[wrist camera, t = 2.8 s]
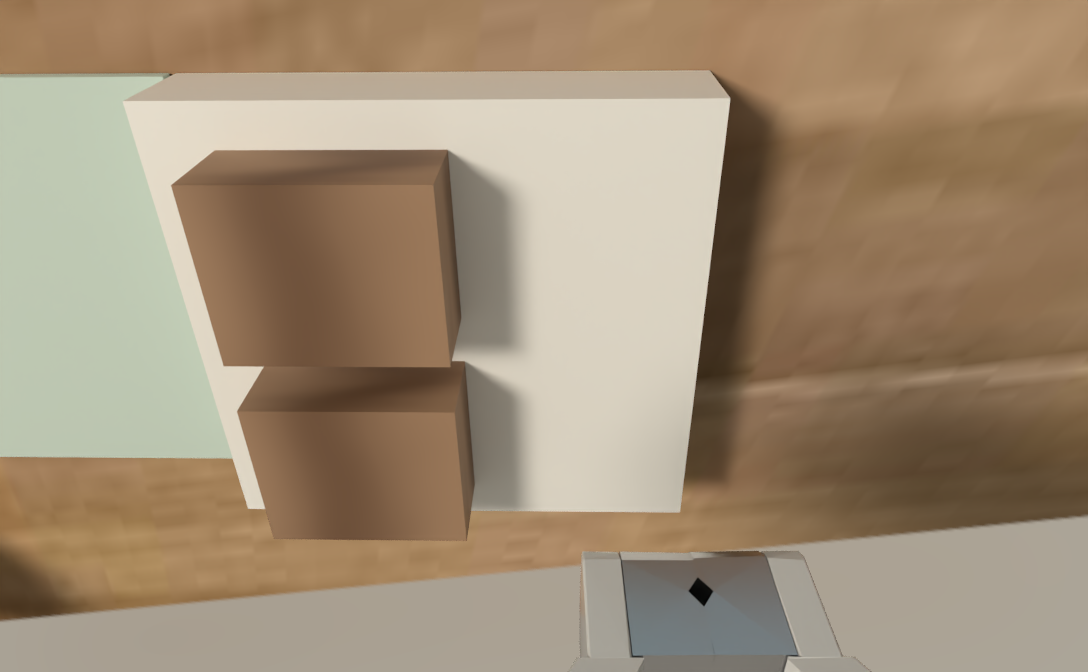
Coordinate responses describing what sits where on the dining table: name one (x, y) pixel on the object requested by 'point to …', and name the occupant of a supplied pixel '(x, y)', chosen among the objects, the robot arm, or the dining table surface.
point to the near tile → (325, 256)
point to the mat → (90, 284)
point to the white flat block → (509, 252)
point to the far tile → (362, 451)
